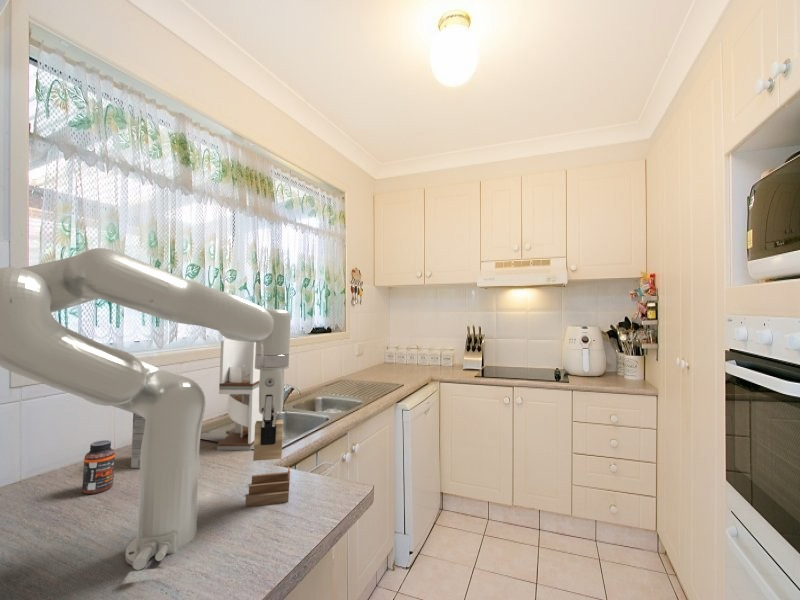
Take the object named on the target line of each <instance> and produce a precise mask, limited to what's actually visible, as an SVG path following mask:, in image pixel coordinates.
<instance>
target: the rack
mask: <svg viewBox="0 0 800 600" xmlns="http://www.w3.org/2000/svg"><path fill="white" fill-rule="evenodd" d="M290 476H291V467H290V466H288V467H287V471H285V472H283V471H282V472H274V473H263V474H262V473H261V474H254V475H253V474H252V475H251V484H249V486H248V495H246V496H245V508H246V507H247V508H249V507H255V506H256V507H257V506H264V505H265V506H266V505H274V504H284V503H289V499H290V498H289V497H290V479H291V478H290Z"/></svg>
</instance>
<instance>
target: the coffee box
mask: <svg viewBox="0 0 800 600" xmlns="http://www.w3.org/2000/svg"><path fill="white" fill-rule="evenodd" d="M132 415H133V416H132V435H131V436H132V438H131V440H132V441H131V455H130V457H131V458H130V459H131V461H130V462H131V463H130V469H140V454H141V445H142V439H143V435H144V430H145V419H144V418H143V417H142V416H140V415H137V414H134V413H132Z"/></svg>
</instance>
